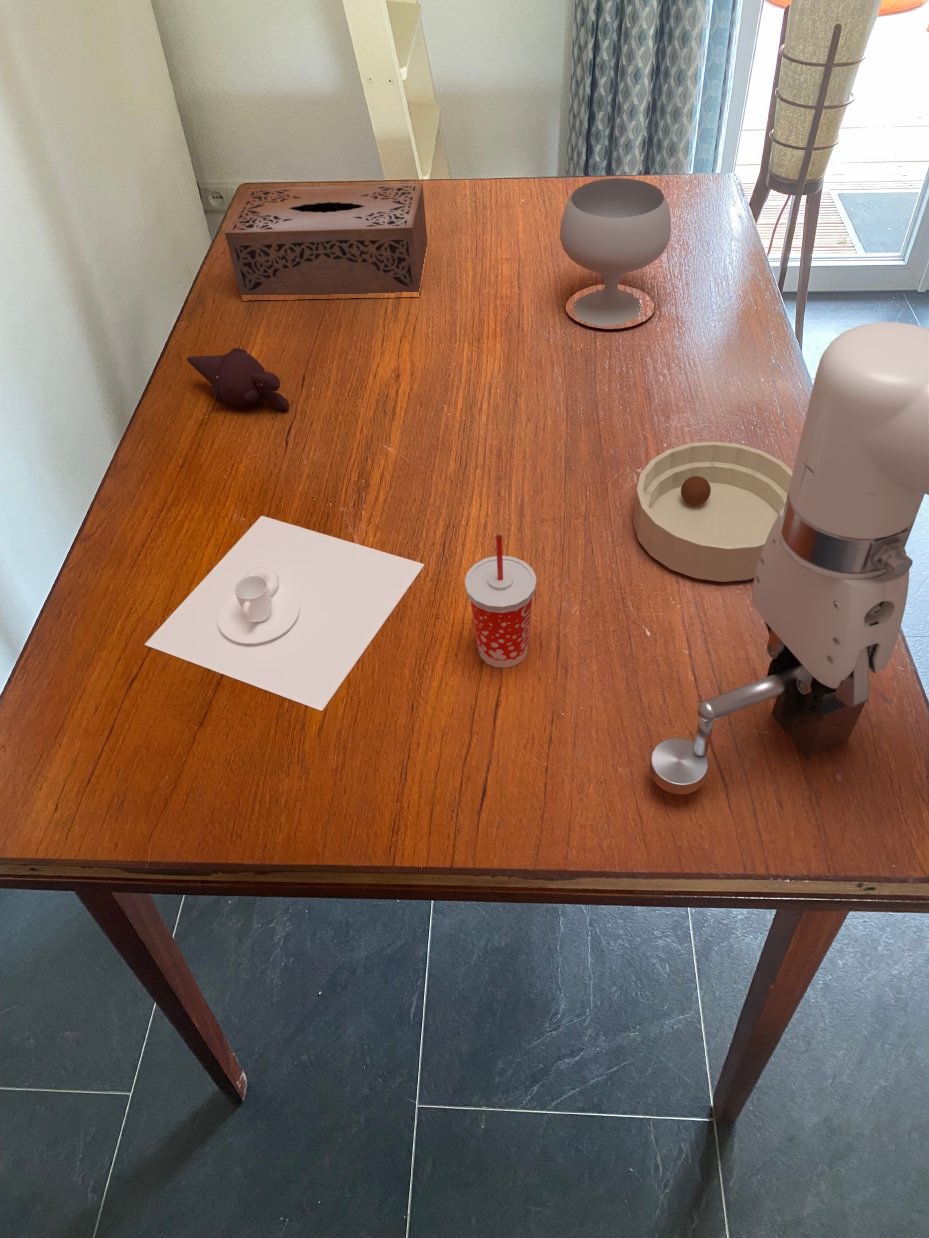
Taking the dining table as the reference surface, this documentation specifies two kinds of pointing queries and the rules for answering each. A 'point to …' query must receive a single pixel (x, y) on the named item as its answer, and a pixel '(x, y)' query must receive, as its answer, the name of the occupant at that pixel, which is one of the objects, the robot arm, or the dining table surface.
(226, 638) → the teacup and saucer
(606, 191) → the chalice
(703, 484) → the meatball
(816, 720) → the dark brown cube
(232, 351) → the dark brown figurine
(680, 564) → the bowl
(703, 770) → the bent silver rod
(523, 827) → the dining table surface
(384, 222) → the tissue box cover
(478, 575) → the beverage cup
